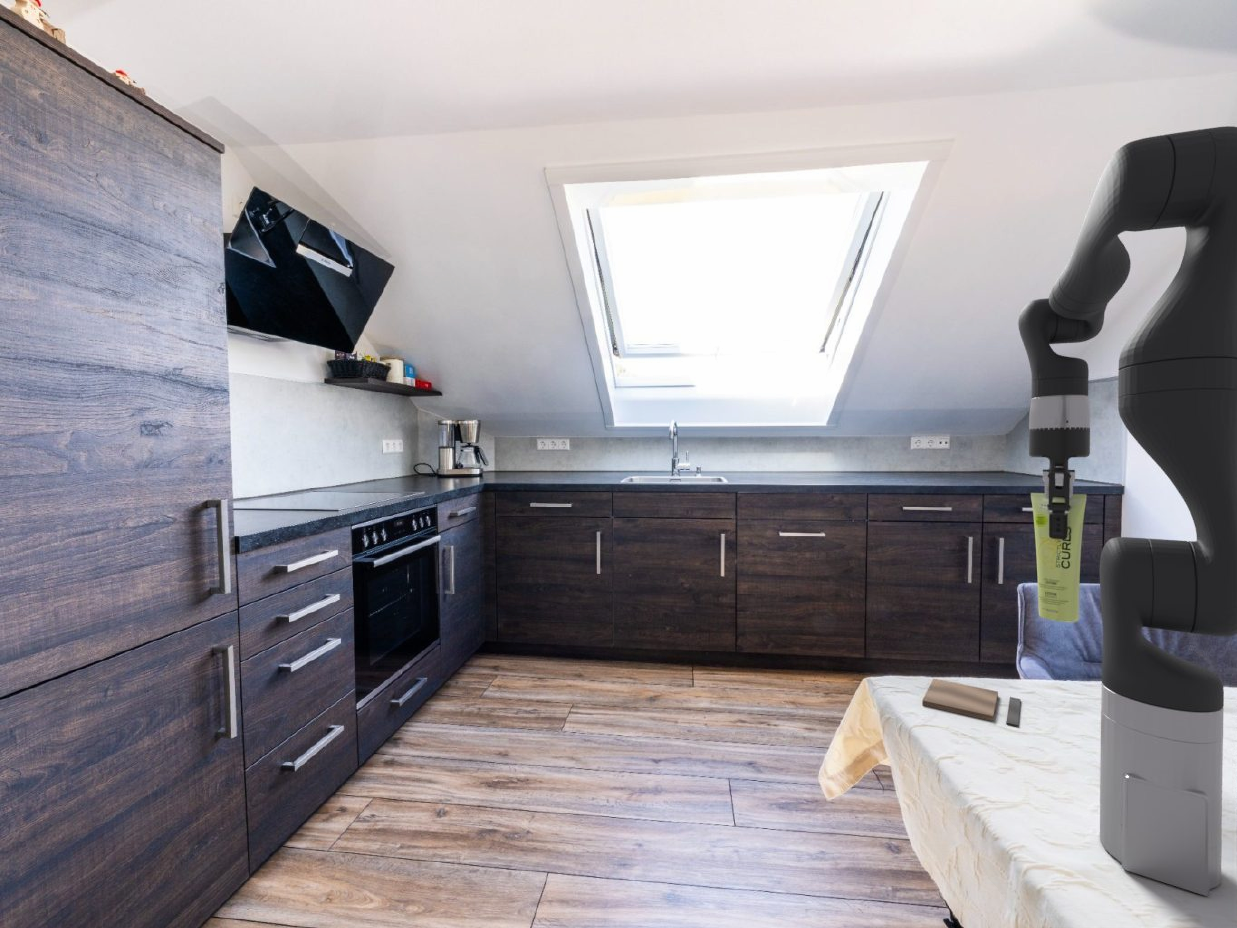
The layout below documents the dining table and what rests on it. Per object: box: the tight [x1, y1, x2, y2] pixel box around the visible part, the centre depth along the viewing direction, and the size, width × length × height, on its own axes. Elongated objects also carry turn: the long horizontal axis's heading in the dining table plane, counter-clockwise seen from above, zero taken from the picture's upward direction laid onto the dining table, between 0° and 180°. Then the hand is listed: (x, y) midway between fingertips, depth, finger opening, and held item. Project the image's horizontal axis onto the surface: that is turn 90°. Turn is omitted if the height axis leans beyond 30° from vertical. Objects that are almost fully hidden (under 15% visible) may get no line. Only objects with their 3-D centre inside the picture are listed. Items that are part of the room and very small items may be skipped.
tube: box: [1030, 492, 1087, 624], centre depth 89 cm, size 6×5×20 cm
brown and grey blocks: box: [922, 678, 1021, 728], centre depth 98 cm, size 12×13×1 cm
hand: (1057, 536), depth 89 cm, fingers closed on tube, 4 cm apart
